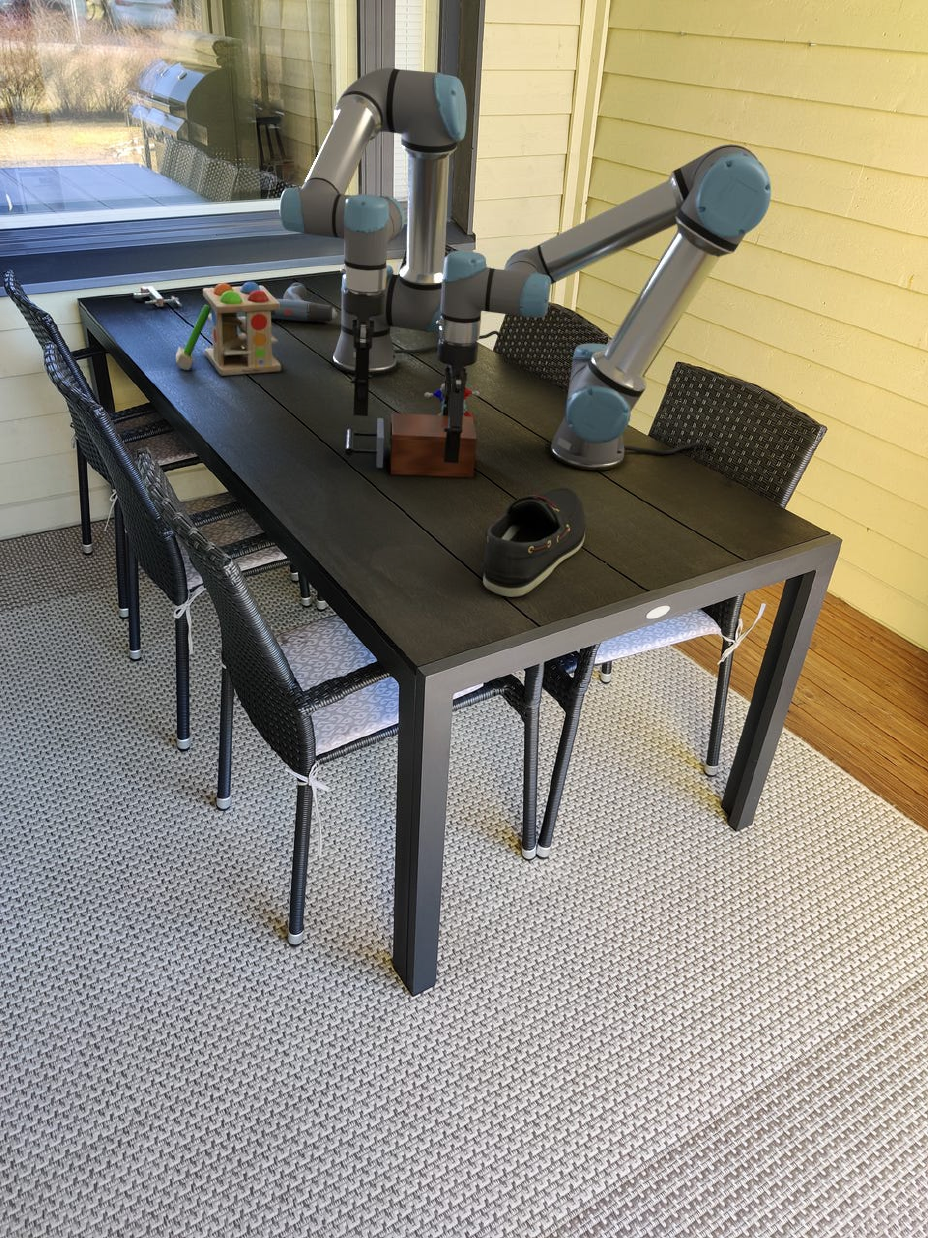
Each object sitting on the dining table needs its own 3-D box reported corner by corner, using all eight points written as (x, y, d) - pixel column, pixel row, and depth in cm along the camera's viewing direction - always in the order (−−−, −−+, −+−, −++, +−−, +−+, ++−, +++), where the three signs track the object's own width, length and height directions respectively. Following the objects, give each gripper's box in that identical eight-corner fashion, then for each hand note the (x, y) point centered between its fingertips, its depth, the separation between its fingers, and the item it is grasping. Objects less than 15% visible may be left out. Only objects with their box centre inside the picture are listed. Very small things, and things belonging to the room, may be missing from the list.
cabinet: (390, 474, 190) (392, 434, 186) (390, 450, 199) (391, 412, 194) (473, 477, 192) (476, 438, 187) (469, 454, 201) (472, 416, 196)
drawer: (344, 466, 189) (345, 435, 186) (346, 445, 197) (346, 416, 194) (453, 470, 192) (455, 440, 188) (450, 450, 199) (452, 421, 196)
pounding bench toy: (183, 379, 220) (176, 299, 210) (169, 357, 231) (162, 280, 221) (282, 371, 230) (280, 294, 220) (264, 350, 240) (262, 276, 230)
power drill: (344, 304, 276) (335, 327, 259) (277, 298, 275) (264, 321, 258) (344, 285, 273) (335, 306, 256) (277, 279, 272) (264, 300, 255)
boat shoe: (609, 530, 179) (617, 478, 174) (520, 603, 155) (525, 545, 150) (547, 511, 185) (553, 460, 179) (452, 578, 161) (455, 522, 155)
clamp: (129, 286, 265) (166, 284, 270) (130, 295, 267) (167, 292, 271) (144, 303, 255) (182, 300, 259) (145, 312, 256) (183, 309, 261)
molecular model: (472, 422, 205) (456, 376, 203) (432, 437, 208) (416, 391, 207) (488, 419, 215) (474, 375, 214) (450, 433, 219) (435, 390, 218)
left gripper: (344, 278, 180) (342, 400, 193) (342, 298, 169) (340, 426, 182) (385, 280, 181) (380, 402, 194) (385, 301, 170) (380, 428, 183)
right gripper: (435, 318, 191) (428, 424, 203) (441, 360, 172) (433, 474, 184) (473, 321, 192) (464, 426, 204) (484, 362, 173) (472, 476, 185)
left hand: (360, 414), depth 188 cm, fingers closed
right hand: (449, 449), depth 194 cm, fingers closed on cabinet, 11 cm apart
